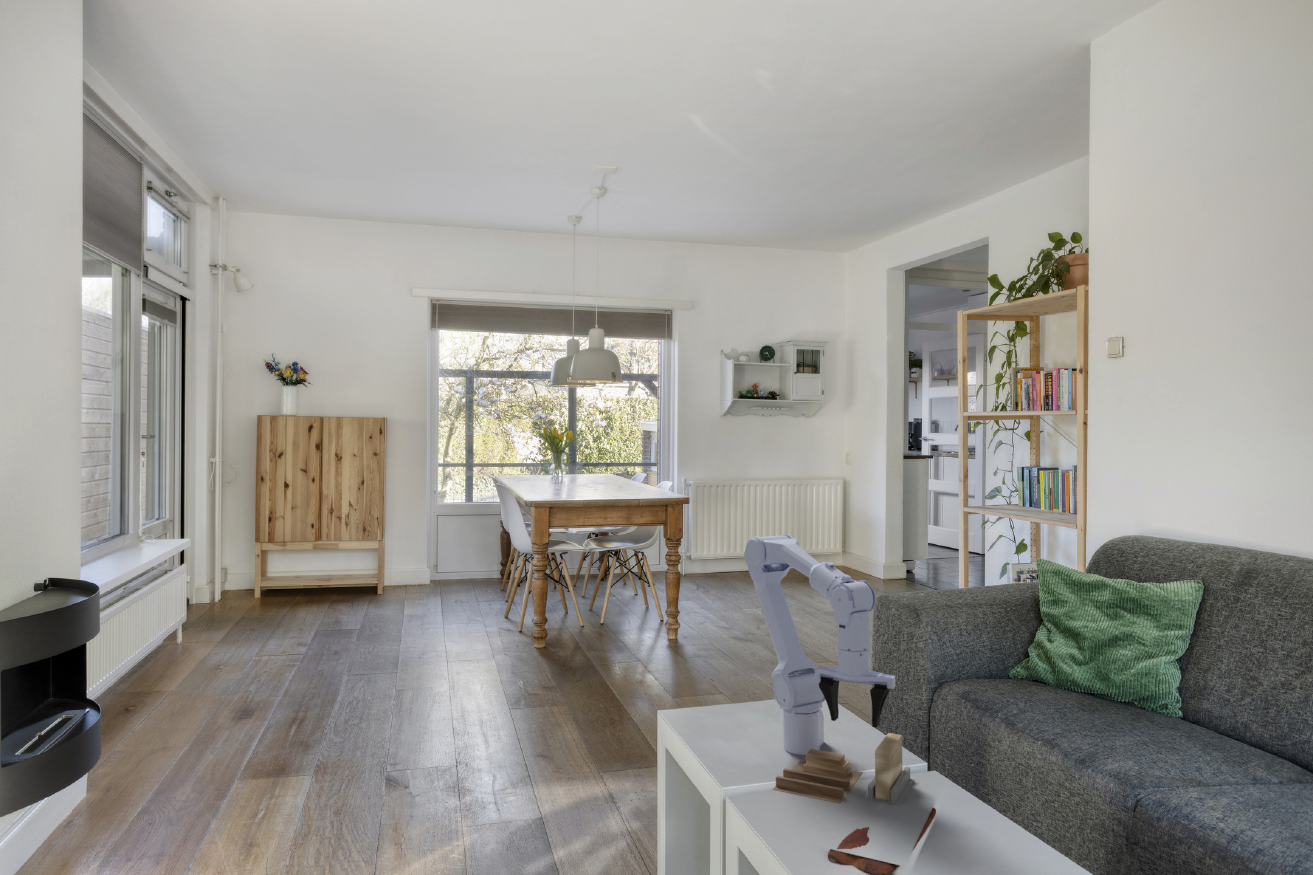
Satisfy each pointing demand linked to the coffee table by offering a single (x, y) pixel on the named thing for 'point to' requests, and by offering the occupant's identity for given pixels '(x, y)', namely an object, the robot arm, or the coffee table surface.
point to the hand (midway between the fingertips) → (855, 722)
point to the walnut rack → (815, 784)
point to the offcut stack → (826, 763)
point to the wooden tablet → (871, 866)
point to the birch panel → (887, 765)
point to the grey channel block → (897, 790)
